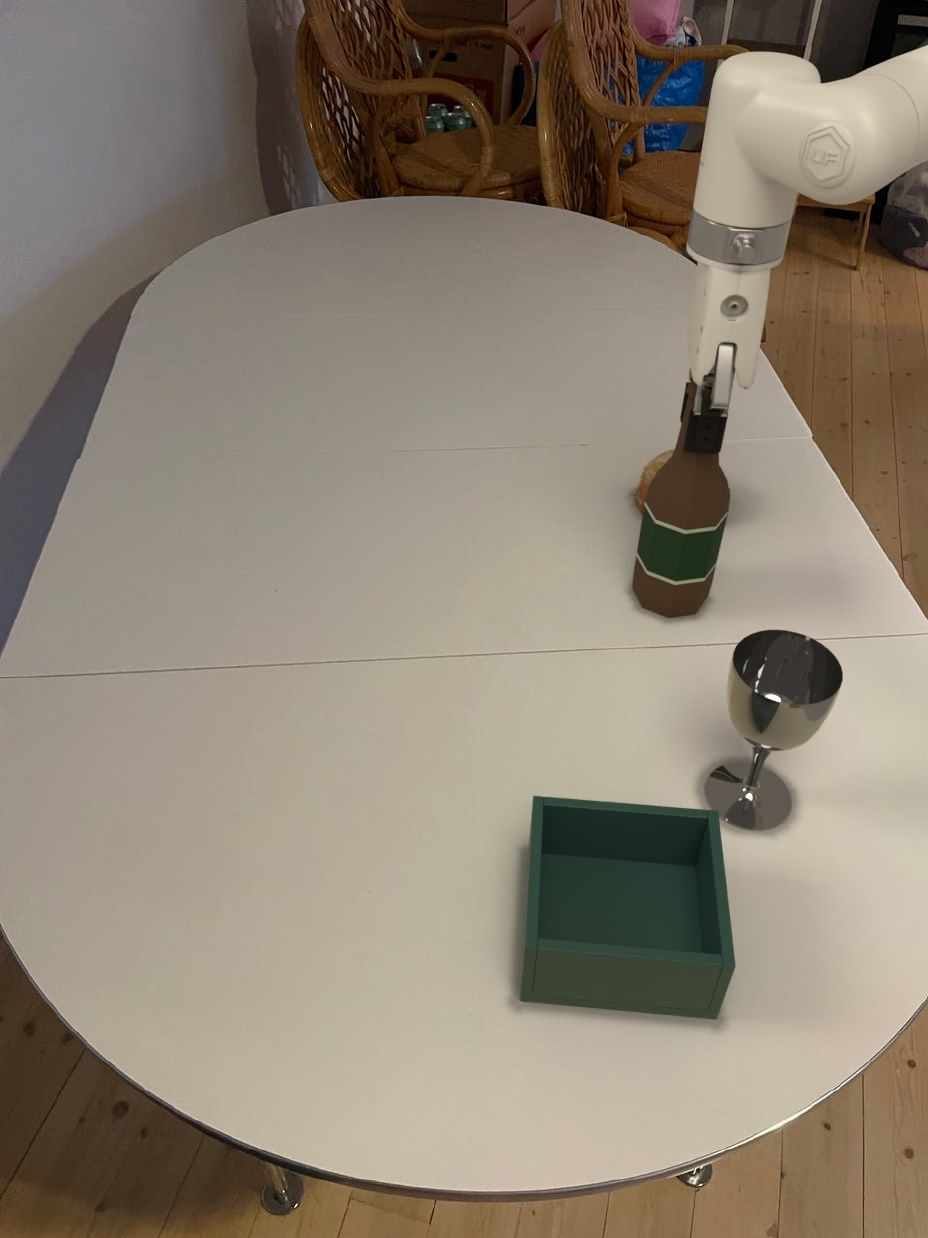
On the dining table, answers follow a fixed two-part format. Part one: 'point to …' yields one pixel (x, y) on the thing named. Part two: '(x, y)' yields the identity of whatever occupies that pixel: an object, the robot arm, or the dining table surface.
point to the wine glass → (771, 720)
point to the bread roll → (650, 477)
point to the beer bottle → (681, 528)
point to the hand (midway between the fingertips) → (699, 435)
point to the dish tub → (626, 908)
